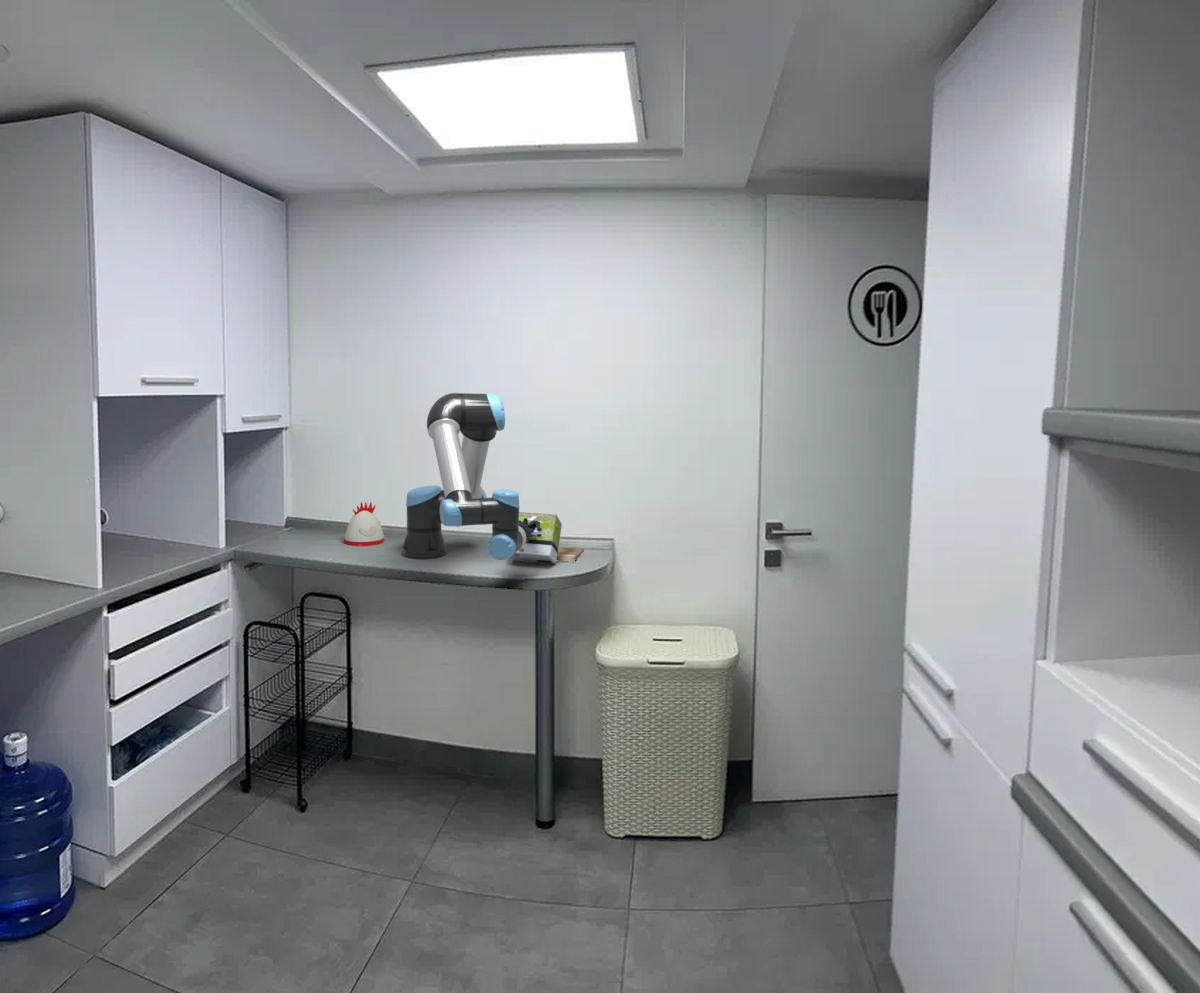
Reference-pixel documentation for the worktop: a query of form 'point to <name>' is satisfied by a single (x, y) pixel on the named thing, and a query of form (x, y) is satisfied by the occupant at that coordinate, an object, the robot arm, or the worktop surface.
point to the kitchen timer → (364, 528)
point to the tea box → (541, 540)
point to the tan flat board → (568, 554)
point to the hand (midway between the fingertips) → (535, 520)
